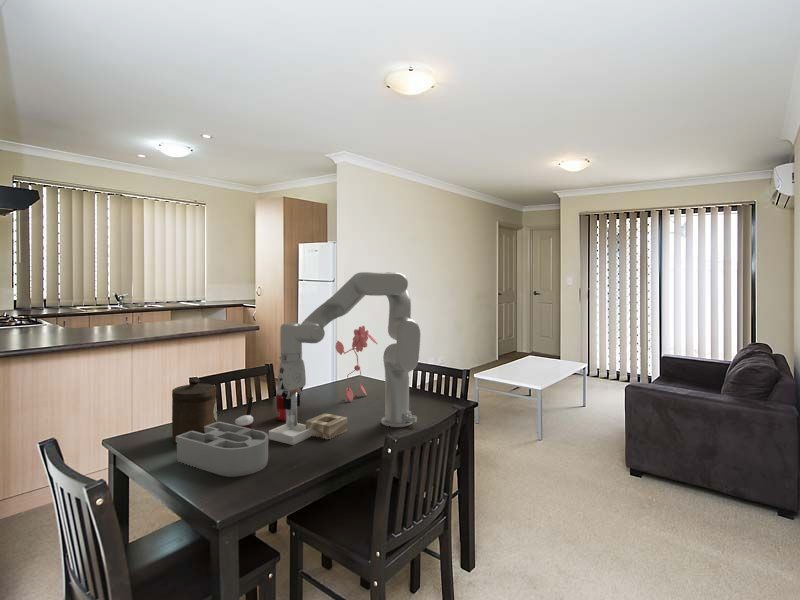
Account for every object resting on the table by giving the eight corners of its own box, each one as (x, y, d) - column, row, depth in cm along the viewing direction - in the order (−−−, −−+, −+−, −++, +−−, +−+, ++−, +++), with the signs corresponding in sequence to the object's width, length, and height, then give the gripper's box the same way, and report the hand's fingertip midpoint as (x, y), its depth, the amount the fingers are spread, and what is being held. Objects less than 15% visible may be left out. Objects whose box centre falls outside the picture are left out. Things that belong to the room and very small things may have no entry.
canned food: (291, 421, 184) (291, 394, 183) (273, 420, 186) (272, 393, 185) (299, 416, 191) (299, 390, 191) (281, 414, 193) (281, 389, 192)
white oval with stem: (238, 438, 167) (237, 406, 165) (229, 433, 171) (227, 402, 169) (261, 430, 174) (260, 399, 173) (251, 426, 178) (250, 396, 177)
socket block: (347, 430, 174) (347, 417, 174) (329, 439, 164) (329, 426, 164) (324, 425, 179) (324, 413, 179) (305, 434, 170) (305, 421, 169)
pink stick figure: (330, 403, 209) (331, 327, 207) (365, 391, 231) (366, 322, 228) (356, 409, 201) (357, 330, 198) (390, 396, 222) (391, 325, 220)
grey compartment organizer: (219, 445, 159) (218, 421, 159) (280, 461, 146) (279, 435, 145) (175, 463, 145) (175, 436, 144) (239, 482, 131) (238, 453, 131)
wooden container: (226, 435, 169) (224, 376, 168) (189, 448, 156) (188, 384, 155) (200, 428, 176) (198, 371, 175) (163, 440, 164) (161, 379, 162)
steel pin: (301, 424, 168) (301, 386, 167) (292, 428, 163) (291, 389, 162) (291, 422, 170) (291, 384, 169) (281, 426, 166) (280, 387, 165)
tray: (315, 434, 169) (314, 426, 169) (293, 445, 159) (293, 436, 159) (291, 429, 175) (291, 421, 175) (268, 439, 165) (268, 430, 165)
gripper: (282, 362, 156) (282, 415, 157) (314, 354, 171) (314, 403, 172) (266, 360, 160) (266, 411, 161) (299, 353, 174) (299, 400, 175)
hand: (291, 406), depth 166 cm, fingers closed on steel pin, 4 cm apart
